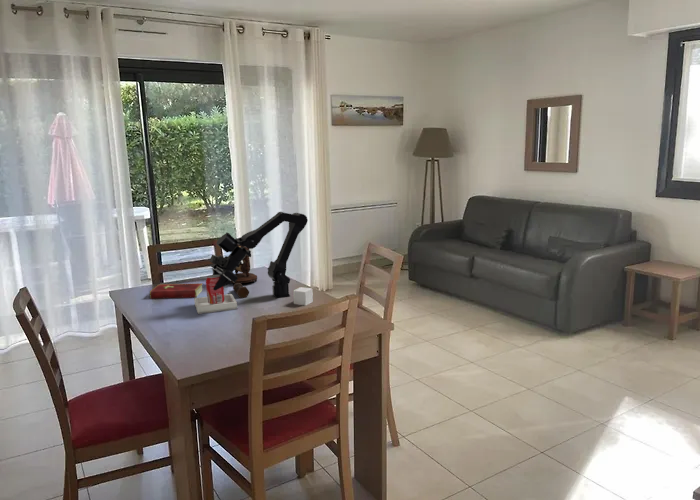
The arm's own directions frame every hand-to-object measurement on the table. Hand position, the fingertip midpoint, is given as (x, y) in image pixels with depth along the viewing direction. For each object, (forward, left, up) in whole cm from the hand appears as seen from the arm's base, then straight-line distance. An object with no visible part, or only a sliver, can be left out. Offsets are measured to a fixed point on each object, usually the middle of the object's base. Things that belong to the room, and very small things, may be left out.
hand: (211, 288), depth 225 cm
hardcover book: (+13, -28, -9) cm, 32 cm away
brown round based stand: (-19, -37, -9) cm, 43 cm away
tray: (-1, 0, -9) cm, 9 cm away
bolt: (-14, -16, -9) cm, 24 cm away
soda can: (-1, +1, -7) cm, 7 cm away
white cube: (-37, +10, -9) cm, 39 cm away
